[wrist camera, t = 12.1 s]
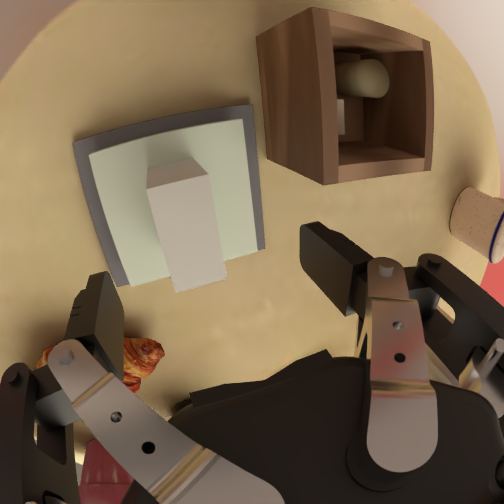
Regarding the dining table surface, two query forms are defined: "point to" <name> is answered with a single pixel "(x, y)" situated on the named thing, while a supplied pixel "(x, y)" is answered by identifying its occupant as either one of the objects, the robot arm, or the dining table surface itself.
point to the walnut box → (346, 97)
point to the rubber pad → (152, 128)
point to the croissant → (130, 360)
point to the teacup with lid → (479, 223)
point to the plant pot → (102, 477)
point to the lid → (178, 203)
